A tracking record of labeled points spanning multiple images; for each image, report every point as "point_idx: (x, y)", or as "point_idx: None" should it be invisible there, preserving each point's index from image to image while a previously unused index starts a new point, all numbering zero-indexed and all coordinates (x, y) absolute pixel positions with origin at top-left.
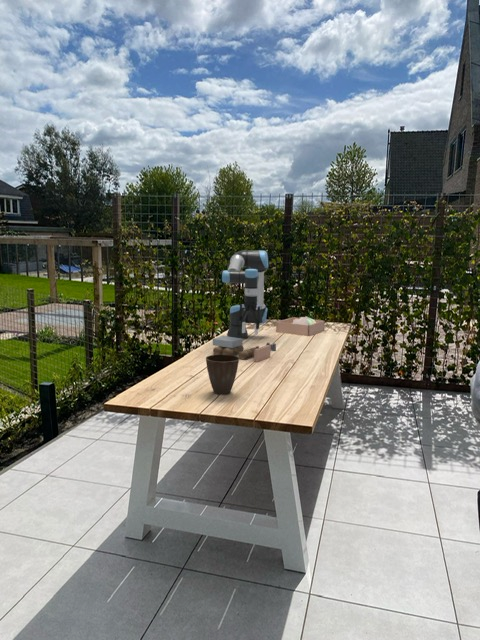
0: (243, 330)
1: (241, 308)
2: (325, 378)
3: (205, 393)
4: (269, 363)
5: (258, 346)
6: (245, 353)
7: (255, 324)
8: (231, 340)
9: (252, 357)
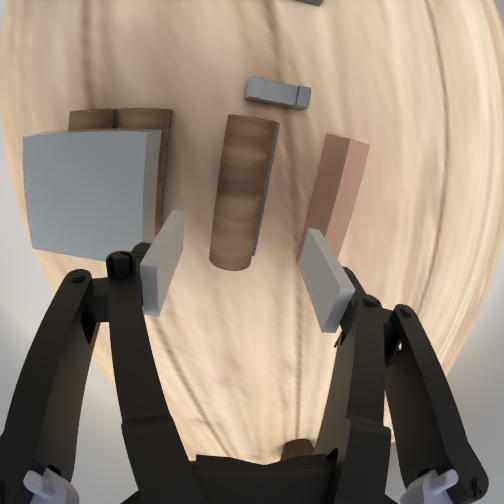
0: (178, 256)
1: (66, 472)
2: (474, 319)
3: (275, 450)
4: (362, 258)
5: (262, 83)
6: (247, 260)
7: (329, 327)
8: (121, 239)
9: (265, 196)
